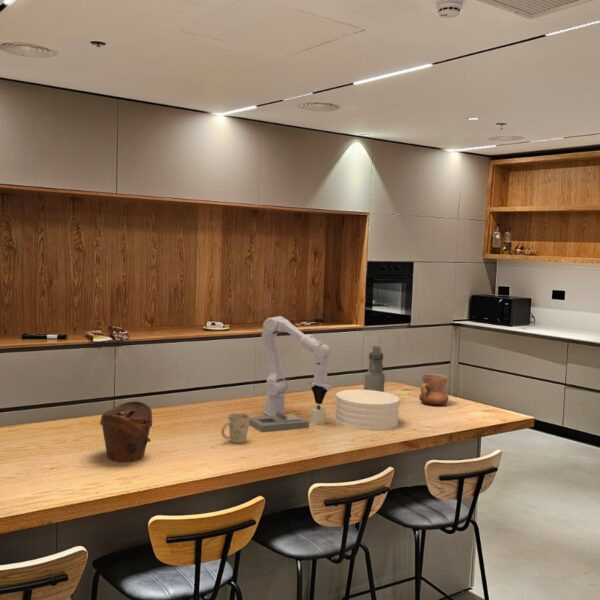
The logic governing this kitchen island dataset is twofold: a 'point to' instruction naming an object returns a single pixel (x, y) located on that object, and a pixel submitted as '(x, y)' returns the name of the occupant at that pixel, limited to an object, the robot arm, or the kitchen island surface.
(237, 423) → the mug
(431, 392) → the ceramic jug
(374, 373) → the grey stone figurine
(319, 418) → the plug
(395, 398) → the plate stack
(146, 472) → the kitchen island surface
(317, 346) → the robot arm
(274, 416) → the socket
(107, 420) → the brown rounded container
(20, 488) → the kitchen island surface
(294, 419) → the block
